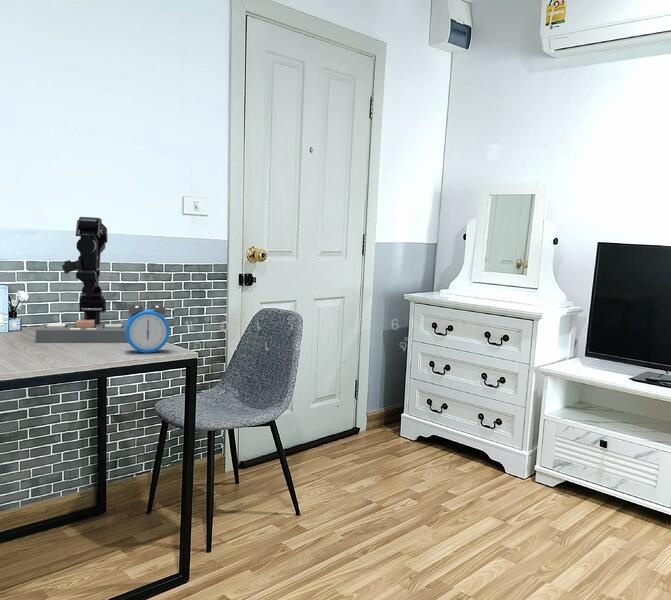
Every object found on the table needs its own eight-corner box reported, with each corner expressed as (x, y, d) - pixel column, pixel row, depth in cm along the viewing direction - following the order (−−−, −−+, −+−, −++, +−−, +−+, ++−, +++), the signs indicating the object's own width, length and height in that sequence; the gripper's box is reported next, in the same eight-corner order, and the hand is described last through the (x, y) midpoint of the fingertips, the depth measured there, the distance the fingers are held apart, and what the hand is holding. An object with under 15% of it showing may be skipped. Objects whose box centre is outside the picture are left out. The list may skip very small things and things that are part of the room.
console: (42, 335, 211) (42, 323, 211) (129, 336, 219) (129, 324, 219) (35, 342, 199) (35, 329, 198) (127, 342, 207) (127, 330, 206)
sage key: (105, 333, 215) (105, 323, 214) (121, 334, 216) (122, 324, 216) (104, 336, 209) (104, 326, 209) (121, 336, 211) (121, 326, 211)
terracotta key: (77, 329, 212) (77, 319, 212) (94, 329, 213) (94, 319, 213) (75, 332, 207) (75, 321, 206) (92, 332, 208) (93, 322, 208)
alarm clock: (125, 354, 188) (126, 305, 186) (124, 350, 193) (124, 302, 192) (169, 353, 193) (170, 305, 191) (167, 349, 198) (168, 303, 197)
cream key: (49, 333, 210) (49, 323, 209) (66, 333, 211) (66, 323, 211) (46, 336, 204) (46, 325, 204) (64, 336, 206) (64, 326, 206)
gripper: (67, 251, 223) (67, 294, 224) (59, 253, 205) (59, 300, 206) (100, 252, 226) (100, 295, 227) (95, 254, 208) (95, 300, 210)
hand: (88, 297), depth 218 cm, fingers closed
